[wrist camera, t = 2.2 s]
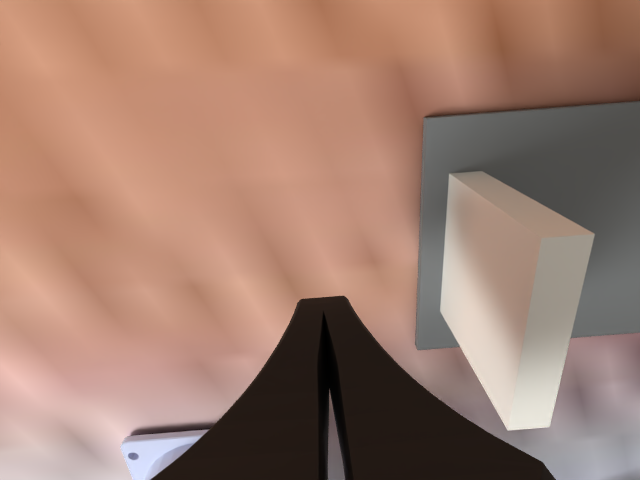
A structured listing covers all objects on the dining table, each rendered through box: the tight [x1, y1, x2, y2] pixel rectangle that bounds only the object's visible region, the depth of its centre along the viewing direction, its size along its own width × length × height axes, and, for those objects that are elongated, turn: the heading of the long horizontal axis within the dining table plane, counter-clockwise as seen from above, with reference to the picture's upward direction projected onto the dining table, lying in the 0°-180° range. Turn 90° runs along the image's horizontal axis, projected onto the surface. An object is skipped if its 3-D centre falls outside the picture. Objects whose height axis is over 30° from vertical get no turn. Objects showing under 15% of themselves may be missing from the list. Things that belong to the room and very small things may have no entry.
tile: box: [440, 171, 595, 430], centre depth 13 cm, size 6×1×6 cm, turn 4°
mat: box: [415, 101, 640, 350], centre depth 16 cm, size 10×13×1 cm
